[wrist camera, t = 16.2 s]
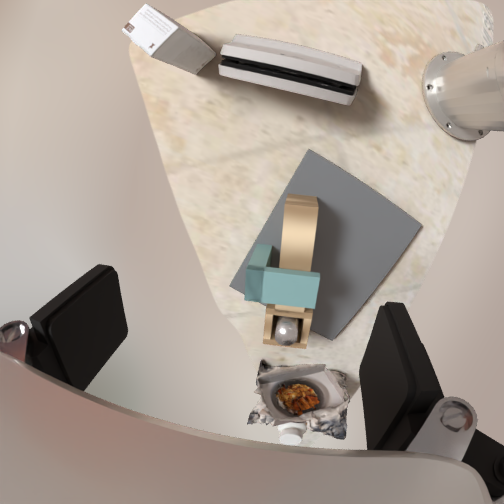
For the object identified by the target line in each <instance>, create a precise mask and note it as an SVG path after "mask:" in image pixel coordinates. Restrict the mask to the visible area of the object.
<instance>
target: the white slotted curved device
mask: <svg viewBox="0 0 504 504" xmlns="http://www.w3.org/2000/svg"><path fill="white" fill-rule="evenodd" d="M220 54H222V58H225V59H224V60H222V61H221V63H220V64H218V66H219V74H220V75H222V76H226V77H230V78H234V79H239V80H243V81H247V82H252V83H256V84H260V85H264V86H269V87H273V88H277V89H281V90H286V91H290V92H294V93H298V94H303V95H307V96H311V97H315V98H319V99H323V100H327V101H332V102H336V103H340V104H344V105H351V103H352V101H353V100H354V98H355V96H356V93H357V91H358V89H356V87H357V86H358V85H359V83H360V81H361V70H362V63H360V62H357V61H354V60H351V59H348V58H345V57H342V56H339V55H335V54H332V53H328V52H325V51H321V50H317V49H313V48H309V47H305V46H301V45H297V44H292V43H288V42H283V41H278V40H273V39H267V38H261V37H255V36H248V35H241V34H236V35H235V36H234V38H233V40H232V42H230V43H226V44H223V47H222V49H221V52H220Z"/></svg>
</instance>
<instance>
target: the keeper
mask: <svg viewBox="0 0 504 504" xmlns="http://www.w3.org/2000/svg"><path fill="white" fill-rule="evenodd" d="M271 254H272V245H265V244H257V245H256V248H255V250H254V252H253V254H252V257H251V259H250V261H249V263H248V266H247V268H246V278H245V300H246V301H254V302H261V303H269V304H277V305H285V306H294V307H303V308H312V309H315V304H316V299H317V293H318V287H319V281H320V273H316V272H308V271H299V270H290V269H281V268H272V267H271Z"/></svg>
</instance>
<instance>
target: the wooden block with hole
mask: <svg viewBox="0 0 504 504" xmlns="http://www.w3.org/2000/svg"><path fill="white" fill-rule="evenodd" d="M318 208H319V207H318V202H317V196H308V195H299V194H289V193H288V195H287V198H286V202H285V207H284V219H283V231H282V242H281V253H280V264H279V268H281V269H290V270H299V271H308V272H310V270H311V263H312V256H313V249H314V241H315V233H316V225H317V217H318ZM312 315H313V309H312V308H303V307H294V306H285V305H277V304H269V303H267V306H266V315H265V326H264V337H263V344H269V345H277V346H283V345H280V344H279V343H277V342H276V340H275V332H276V326H277V321H278V316H286V317H295V318H299V321H298V334H297V341H296V342H295V343H294V344H293V345H290V346H285V347H293V348H302V349H306V346H307V341H308V336H309V331H310V326H311V321H312Z"/></svg>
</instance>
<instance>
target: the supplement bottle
mask: <svg viewBox="0 0 504 504" xmlns="http://www.w3.org/2000/svg"><path fill="white" fill-rule="evenodd" d="M306 426H307V423H292V422H290V423H286V424H281V425H277V429H278V431H279V432H280V435H279V441H280V442H281V443H283V444H285V445H297V444H299V443H301V442H302V437H303V434H304V433H305V432H306V430H307V427H306Z"/></svg>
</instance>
